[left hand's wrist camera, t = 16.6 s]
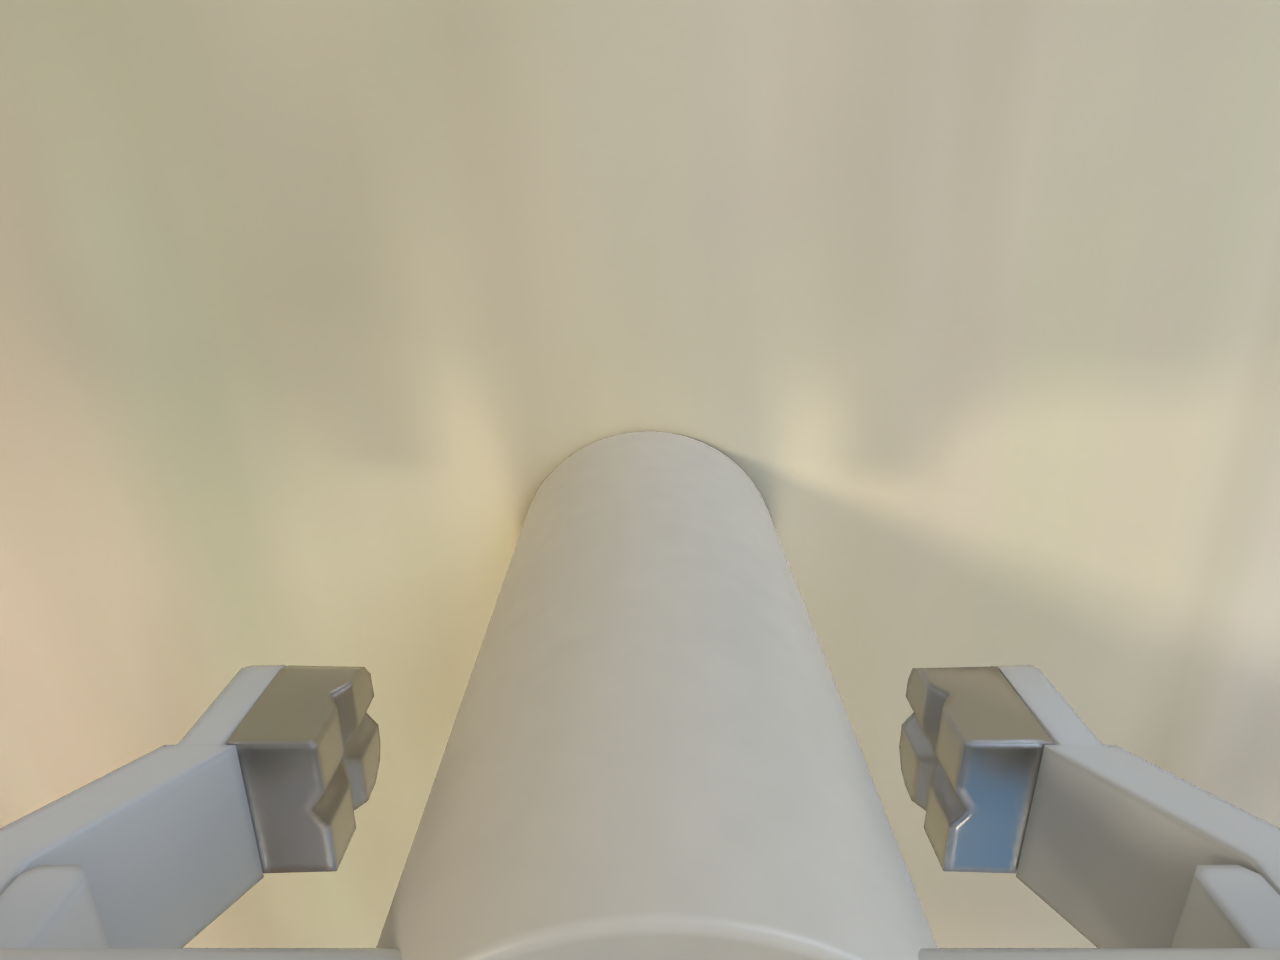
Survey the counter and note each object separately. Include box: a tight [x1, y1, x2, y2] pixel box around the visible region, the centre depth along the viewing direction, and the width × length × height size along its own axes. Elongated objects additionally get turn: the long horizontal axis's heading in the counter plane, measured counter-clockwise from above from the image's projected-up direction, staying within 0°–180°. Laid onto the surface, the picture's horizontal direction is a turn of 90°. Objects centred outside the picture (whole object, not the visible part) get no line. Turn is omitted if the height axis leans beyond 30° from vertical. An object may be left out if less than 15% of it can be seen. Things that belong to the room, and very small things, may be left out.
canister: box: [377, 431, 938, 960], centre depth 10 cm, size 5×5×10 cm
